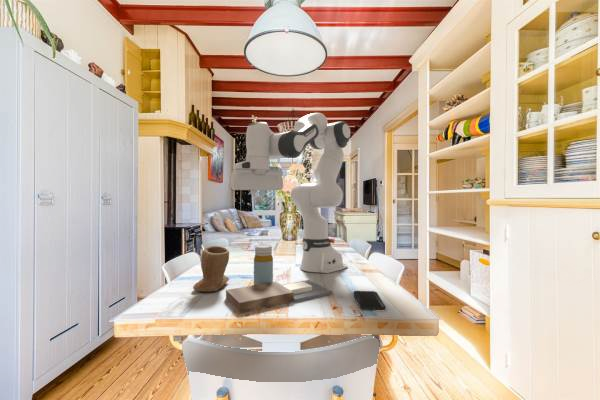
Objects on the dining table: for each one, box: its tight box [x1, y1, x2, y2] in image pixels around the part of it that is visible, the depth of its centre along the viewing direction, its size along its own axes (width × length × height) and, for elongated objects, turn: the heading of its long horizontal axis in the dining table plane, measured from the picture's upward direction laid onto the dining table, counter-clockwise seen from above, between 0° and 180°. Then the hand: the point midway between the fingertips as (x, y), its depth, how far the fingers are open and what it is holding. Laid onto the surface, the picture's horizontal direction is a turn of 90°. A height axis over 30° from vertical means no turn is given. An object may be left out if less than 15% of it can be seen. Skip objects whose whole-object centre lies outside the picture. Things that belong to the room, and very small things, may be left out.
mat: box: [283, 279, 334, 303], centre depth 104 cm, size 15×15×1 cm
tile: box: [281, 281, 312, 294], centre depth 102 cm, size 9×6×2 cm, turn 121°
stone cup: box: [192, 245, 230, 293], centre depth 108 cm, size 15×12×15 cm
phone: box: [353, 290, 386, 311], centre depth 95 cm, size 8×1×15 cm
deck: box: [225, 281, 294, 314], centre depth 95 cm, size 18×13×3 cm
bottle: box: [253, 244, 274, 285], centre depth 109 cm, size 7×7×15 cm
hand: (257, 202), depth 110 cm, fingers closed
